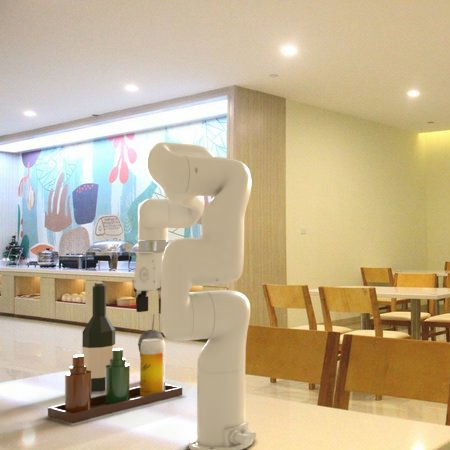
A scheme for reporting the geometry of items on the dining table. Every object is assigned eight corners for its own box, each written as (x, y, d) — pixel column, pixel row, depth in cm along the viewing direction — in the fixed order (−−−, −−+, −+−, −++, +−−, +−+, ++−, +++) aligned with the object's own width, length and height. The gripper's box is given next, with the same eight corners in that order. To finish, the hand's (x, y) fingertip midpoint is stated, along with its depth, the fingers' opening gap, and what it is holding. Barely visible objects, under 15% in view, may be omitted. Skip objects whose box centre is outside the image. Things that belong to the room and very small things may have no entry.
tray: (182, 397, 163) (182, 387, 163) (71, 426, 138) (72, 414, 138) (157, 391, 168) (157, 382, 168) (47, 418, 144) (47, 407, 144)
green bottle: (133, 404, 153) (134, 348, 154) (113, 409, 149) (113, 352, 149) (121, 401, 156) (121, 346, 157) (100, 406, 152) (101, 349, 152)
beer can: (141, 394, 163) (141, 338, 163) (165, 392, 165) (166, 337, 165) (139, 400, 157) (139, 342, 157) (164, 398, 159) (164, 340, 159)
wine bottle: (101, 394, 165) (102, 284, 166) (75, 393, 167) (75, 283, 168) (121, 387, 174) (122, 282, 174) (96, 385, 175) (96, 281, 176)
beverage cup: (131, 385, 176) (132, 315, 177) (149, 379, 183) (149, 312, 184) (152, 386, 174) (153, 316, 174) (169, 380, 181) (169, 313, 181)
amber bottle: (95, 413, 145) (96, 355, 145) (72, 419, 140) (73, 359, 141) (83, 410, 148) (83, 352, 148) (60, 416, 143) (60, 356, 144)
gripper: (121, 248, 163) (121, 312, 163) (161, 247, 154) (161, 315, 153) (146, 248, 170) (146, 309, 169) (186, 247, 160) (186, 312, 160)
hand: (153, 312), depth 161 cm, fingers open, 9 cm apart
